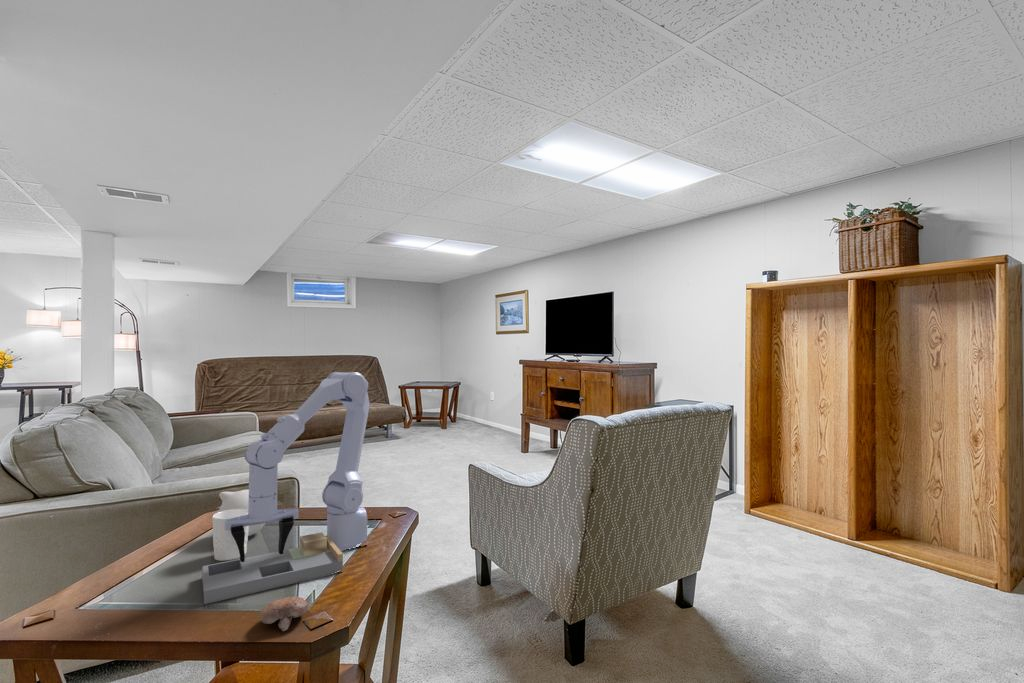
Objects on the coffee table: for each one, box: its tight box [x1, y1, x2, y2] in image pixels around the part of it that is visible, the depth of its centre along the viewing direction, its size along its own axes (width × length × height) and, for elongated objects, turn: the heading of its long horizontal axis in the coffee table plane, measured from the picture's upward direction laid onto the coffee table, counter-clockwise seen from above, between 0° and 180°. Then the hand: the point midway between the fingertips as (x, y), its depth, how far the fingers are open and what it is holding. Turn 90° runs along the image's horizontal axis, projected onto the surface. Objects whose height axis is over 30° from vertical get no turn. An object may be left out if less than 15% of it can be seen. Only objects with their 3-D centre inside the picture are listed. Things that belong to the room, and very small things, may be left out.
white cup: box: [211, 509, 249, 562], centre depth 118 cm, size 8×8×10 cm
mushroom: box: [259, 595, 309, 632], centre depth 87 cm, size 8×6×8 cm
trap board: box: [201, 534, 344, 605], centre depth 107 cm, size 26×14×4 cm, turn 124°
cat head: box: [216, 488, 266, 537], centre depth 131 cm, size 15×13×12 cm
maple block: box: [299, 532, 327, 556], centre depth 114 cm, size 5×5×3 cm
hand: (261, 556), depth 108 cm, fingers open, 7 cm apart
